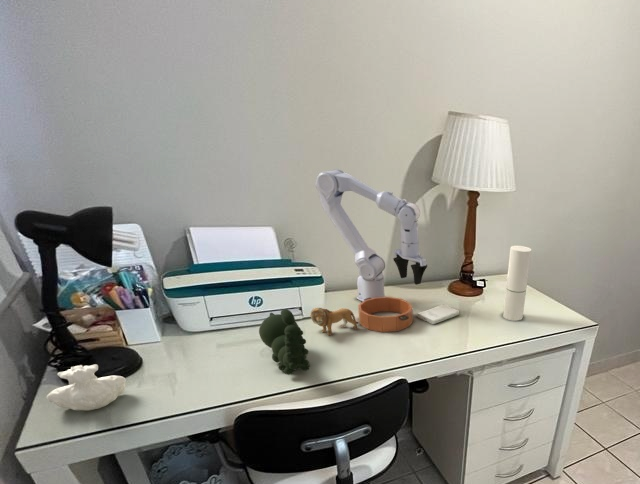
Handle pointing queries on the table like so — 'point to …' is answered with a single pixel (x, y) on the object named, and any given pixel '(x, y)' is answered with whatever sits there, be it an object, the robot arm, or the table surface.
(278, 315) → the toy figurine
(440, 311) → the hard drive
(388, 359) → the table surface
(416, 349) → the table surface
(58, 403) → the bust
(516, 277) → the cylindrical container
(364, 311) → the orange round basin
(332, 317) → the lion figurine
